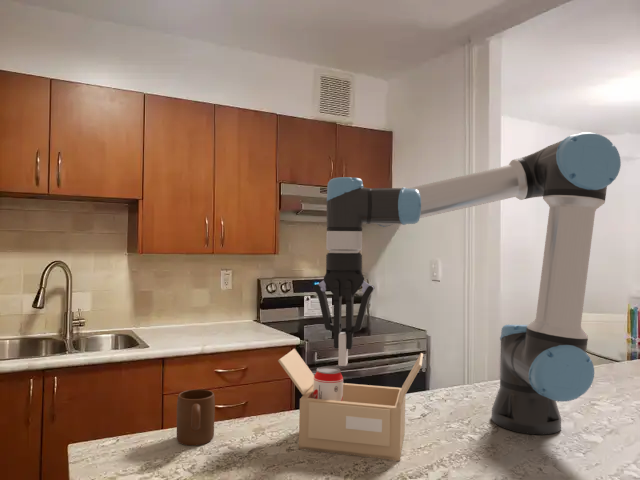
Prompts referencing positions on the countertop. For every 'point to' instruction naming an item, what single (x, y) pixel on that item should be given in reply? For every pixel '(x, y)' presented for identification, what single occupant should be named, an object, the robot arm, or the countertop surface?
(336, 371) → the beer can
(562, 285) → the robot arm
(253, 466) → the countertop surface
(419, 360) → the flap near
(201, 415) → the mug
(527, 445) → the countertop surface
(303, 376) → the flap far
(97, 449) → the countertop surface
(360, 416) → the carton
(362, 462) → the countertop surface
